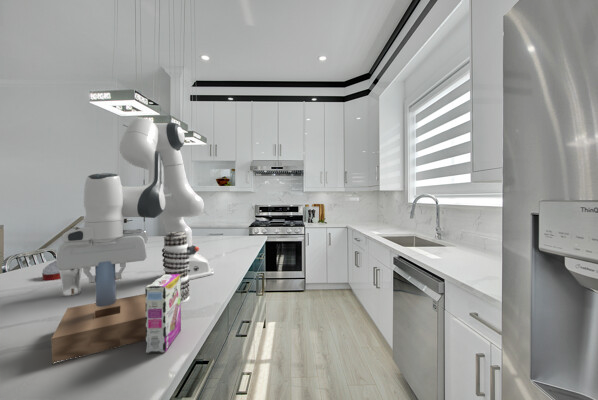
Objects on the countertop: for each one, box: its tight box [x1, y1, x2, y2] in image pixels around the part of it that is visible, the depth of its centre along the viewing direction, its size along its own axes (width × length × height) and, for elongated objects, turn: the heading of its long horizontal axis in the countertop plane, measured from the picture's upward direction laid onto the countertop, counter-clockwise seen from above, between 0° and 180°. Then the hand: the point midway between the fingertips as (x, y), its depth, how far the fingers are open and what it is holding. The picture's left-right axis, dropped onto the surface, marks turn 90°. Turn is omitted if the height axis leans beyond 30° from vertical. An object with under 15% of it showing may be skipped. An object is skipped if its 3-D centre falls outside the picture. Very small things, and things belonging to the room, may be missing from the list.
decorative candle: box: [161, 231, 190, 304], centre depth 99 cm, size 9×9×25 cm
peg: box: [94, 261, 117, 307], centre depth 75 cm, size 4×4×12 cm
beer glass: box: [59, 268, 83, 298], centre depth 107 cm, size 7×7×15 cm
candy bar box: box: [144, 274, 182, 354], centre depth 71 cm, size 11×5×16 cm, turn 5°
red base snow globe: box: [41, 259, 61, 282], centre depth 129 cm, size 11×10×10 cm
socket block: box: [51, 293, 146, 363], centre depth 76 cm, size 20×20×6 cm
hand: (105, 280), depth 75 cm, fingers closed on peg, 4 cm apart
